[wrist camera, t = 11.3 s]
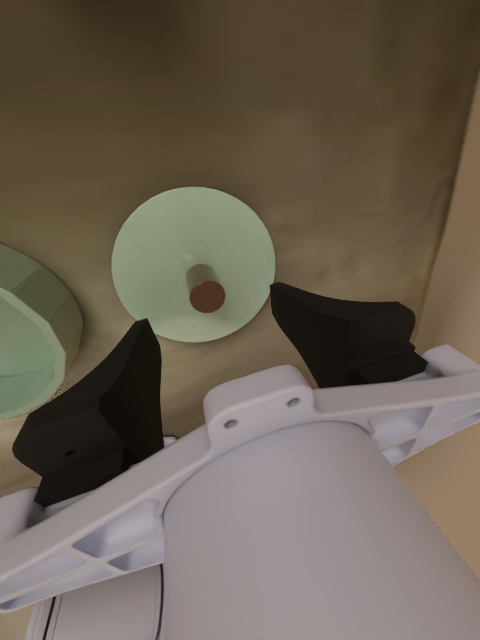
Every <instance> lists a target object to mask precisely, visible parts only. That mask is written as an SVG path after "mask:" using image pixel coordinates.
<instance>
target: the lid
mask: <svg viewBox="0 0 480 640" xmlns="http://www.w3.org/2000/svg"><path fill="white" fill-rule="evenodd" d="M111 269H112V278H113V282H114V286H115V290H116V292H117V294H118V297H119V299H120V301H121V302H122V304H123V306H124V307H125V309H126V310H127V311H128V312H129V314H130V315H131V316H132V317H133V318H134V319H135V320H136V321H138V320H142V319H145V318H147V319H148V321H149V323H150V325H151V327H152V329H153V332H154V333H155V334H157V335H159V336H162V337H164V338H167V339H171V340H175V341H180V342H205V341H211V340H215V339H219V338H222V337H224V336H227V335H229V334H231V333H233V332H235V331H237V330H238V329H240V328H241V327H243V326H244V325H245V324H247V323H248V322H249V321H250V320H251V319H252V318H253V317H254V316H255V315H256V314H257V313H258V312H259V310H260V309H261V308H262V306H263V305H264V303H265V301H266V300H267V298H268V296H269V293H270V285H271V284H273V281H274V276H275V252H274V247H273V243H272V240H271V237H270V235H269V233H268V230H267V229H266V227H265V225H264V224H263V222H262V221H261V219H260V218H259V217H258V216H257V214H256V213H255V212H254V211H253V210H252V209H251V208H249V207H248V206H247V205H246V204H245V203H243V202H242V201H240V200H239V199H237V198H235V197H233V196H231V195H229V194H227V193H225V192H222V191H219V190H216V189H212V188H206V187H193V186H188V187H180V188H175V189H171V190H168V191H164V192H162V193H160V194H157V195H155V196H153V197H151V198H150V199H148V200H147V201H145V202H144V203H142V204H141V205H140V206H139V207H138V208H137V209H136V210H135V211H133V212H132V214H131V215H130V216H129V217H128V219H127V220H126V221H125V223H124V224H123V226H122V228H121V230H120V231H119V233H118V236H117V238H116V241H115V244H114V248H113V253H112V263H111Z"/></svg>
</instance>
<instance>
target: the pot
mask: <svg viewBox="0 0 480 640" xmlns="http://www.w3.org/2000/svg"><path fill="white" fill-rule="evenodd" d="M82 333H83V320H82V315H81V312H80V309H79V306H78V304H77V302H76V300H75V299H74V297H73V295H72V294H71V293H70V291H69V290H68V288H67V287H66V286H65V285H64V284H63V283H62V282H61V281H60V280H59V279H58V278H57V277H56V276H55V275H54V274H53V273H52V272H50V271H49V270H48V269H47V268H45V267H44V266H42V265H41V264H39V263H38V262H37V261H35V260H33V259H31V258H30V257H28V256H26V255H25V254H23V253H20V252H18V251H16V250H14V249H12V248H10V247H7V246H4V245H2V244H0V420H4V419H9V418H13V417H18V416H21V415H23V414H25V413H27V412H29V411H30V410H32V409H34V408H36V407H38V406H40V405H42V404H43V403H45V402H47V401H49V400H50V398H51V397H52V396H53V394H54V393H55V392H56V390H57V389H58V388H59V386H60V385H61V384H62V382H63V381H64V380H65V378H66V376H67V373H68V371H69V369H70V367H71V365H72V362H73V360H74V358H75V356H76V354H77V351H78V349H79V347H80V345H81V338H82Z"/></svg>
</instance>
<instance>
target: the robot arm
mask: <svg viewBox="0 0 480 640" xmlns="http://www.w3.org/2000/svg"><path fill="white" fill-rule="evenodd" d="M270 295H271V307H272V314H273V316H274V318H275V320H276V322H277V323H278V325H279V327H280V328H281V329H282V331H283V332H284V333H285V335H286V336H287V337H288V339H289V340H290V341H291V342H292V344H293V345H294V346H295V348H296V349H297V350H298V352H299V353H300V355H301V356H302V358H303V360H304V361H305V363H306V365H307V366H308V368H309V370H310V372H311V373H312V375H313V377H314V379H315V380H316V382H317V384H318V386H319V388H320V389H311V387H310V386H309V384H308V383H307V381H306V380H305V378H304V377H303V375H302V374H301V372H300V371H299V369H298V368H296V367H294V366H291V365H280V366H274V367H271V368H268V369H265V370H262V371H259V372H256V373H253V374H250V375H247V376H243V377H240V378H237V379H234V380H231V381H228V382H225V383H222V384H220V385H218V386H216V387H214V388H213V389H211V390H210V391H209V392H208V394H207V395H206V396H205V397H204V399H203V411H204V417H205V422H206V423H205V424H203V425H201V426H200V427H198V428H196V429H195V430H193V431H191V432H190V433H188V434H186V435H185V436H183V437H181V438H180V439H178V440H176V438H175V437H163V431H162V420H161V407H160V384H161V363H162V359H161V350H160V345H159V342H158V340H157V338H156V336H155V334H154V332H153V329H152V327H151V325H150V323H149V321H148V319H147V318H145V319H142V320H138V321H136V322H135V323H134V324H133V325H132V327H131V328H130V329H129V330H128V332H127V333H126V334H125V336H124V337H123V338H122V340H121V341H120V342H119V343H118V345H117V346H116V347H115V348H114V349H113V350H112V351H111V353H110V354H109V355H108V356H107V357H106V358H105V359H104V360H103V361H102V362H101V363H100V364H99V365H98V366H97V367H96V368H95V369H94V370H93V371H91V372H90V373H89V374H88V375H86V376H85V377H84V378H83V379H82V380H80V381H79V382H78V383H77V384H75V385H74V386H72V387H71V388H70V389H68V390H67V391H65V392H64V393H62V394H61V395H60V396H58V397H56V398H55V399H53V400H52V401H50V402H48V403H47V404H45V405H43V406H42V407H40V408H38V409H37V410H35V411H33V412H32V413H30V414H29V415H28V417H27V419H26V421H25V423H24V424H23V426H22V428H21V430H20V432H19V434H18V436H17V438H16V440H15V441H14V443H13V448H12V451H13V454H14V456H15V457H16V458H17V459H18V460H19V461H20V462H21V463H22V464H24V465H25V466H27V467H28V468H30V469H31V470H33V471H34V472H36V473H37V474H39V475H40V476H42V477H43V478H42V480H41V483H40V486H39V488H38V487H29V488H25V489H22V490H19V491H16V492H13V493H10V494H7V495H4V496H1V497H0V613H11V612H14V611H16V610H19V609H21V608H24V607H27V606H29V605H32V604H34V603H35V605H34V608H33V611H32V615H31V618H30V621H29V625H28V628H27V632H26V635H25V639H24V640H480V581H479V579H478V578H477V577H476V575H475V574H474V573H473V571H472V570H471V569H470V567H469V566H468V565H467V564H466V562H465V561H464V560H463V558H462V557H461V556H460V554H459V553H458V552H457V550H456V549H455V548H454V547H453V545H452V544H451V543H450V541H449V540H448V539H447V537H446V536H445V535H444V534H443V532H442V531H441V529H440V528H439V527H438V526H437V525H436V523H435V522H434V520H433V519H432V518H431V516H430V515H429V514H428V512H427V511H426V510H425V509H424V507H423V506H422V505H421V503H420V502H419V501H418V499H417V498H416V497H415V495H414V494H413V493H412V492H411V490H410V489H409V488H408V486H407V485H406V484H405V482H404V481H403V480H402V478H401V477H400V476H399V475H398V473H397V472H396V471H395V469H394V468H393V466H394V465H396V464H398V463H400V462H402V461H403V460H405V459H407V458H409V457H411V456H412V455H414V454H416V453H418V452H420V451H421V450H423V449H425V448H427V447H429V446H431V445H433V444H434V443H436V442H438V441H440V440H442V439H444V438H446V437H448V436H450V435H452V434H454V433H456V432H458V431H460V430H462V429H465V428H467V427H469V426H472V425H474V424H476V423H479V422H480V365H479V364H478V363H476V362H475V361H473V360H471V359H470V358H468V357H467V356H465V355H463V354H462V353H460V352H458V351H457V350H456V349H454V348H452V347H451V346H449V345H448V344H444V345H441V346H438V347H435V348H432V349H429V350H426V351H424V352H423V353H422V354H421V355H418V354H417V353H416V352H414V350H415V346H414V345H412V344H411V343H410V342H409V341H410V338H411V335H412V332H413V329H414V326H415V314H414V312H413V311H412V310H411V309H409V308H407V307H406V306H404V305H402V304H401V303H399V302H359V301H348V300H340V299H334V298H329V297H324V296H320V295H317V294H313V293H310V292H307V291H304V290H301V289H298V288H295V287H293V286H290V285H287V284H284V283H281V282H278V283H274V284H271V285H270Z"/></svg>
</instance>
